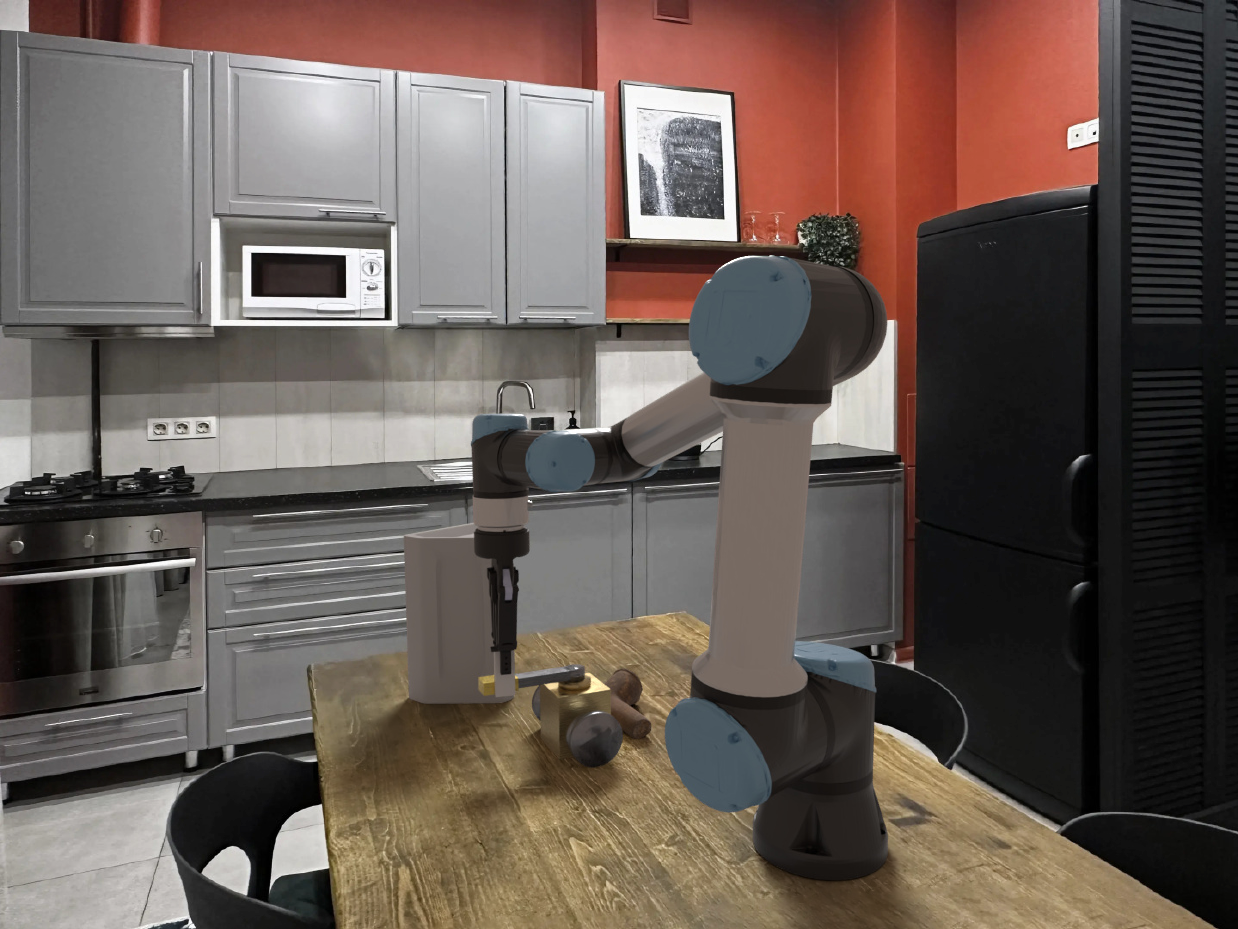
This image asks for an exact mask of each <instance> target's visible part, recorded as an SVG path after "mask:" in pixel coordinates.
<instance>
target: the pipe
mask: <svg viewBox="0 0 1238 929" xmlns="http://www.w3.org/2000/svg"><path fill="white" fill-rule="evenodd" d="M603 684H604V685H606V686H607V687H608V688H610V689H611V715H612V716H613V717H614V718H615V719H616V720H617V721H618V722H619V723H620V725H621V728H622V732H623V733H625V734H627V735H628V736H630V737H631V738H633V739H636V740H638V739H642V738H645V737H646V736H647V735H649V734H651V731H652V722H651V721H650V720H649V719H648V718H647V717H645V715H643V714H642V713H641V712H640V711H638V710H636V709H635V708H634V707H632V705H636V704H637V703H638V702H639V701H640V699H641V695H642V693H643V691H644V689H643V685H642V681H641V679H640V677H639V676H638V675H637V674H636V673H635V672H634V671H633V670H632V669H631V670H630V669H628V668H622V667H621V668H619V669H616V670H615V671H614V672H613V673H612V674H611V676H610V677H609V678H608V679H607V680H606V681H605V682H604V683H603Z"/></svg>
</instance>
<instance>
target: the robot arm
mask: <svg viewBox="0 0 1238 929" xmlns="http://www.w3.org/2000/svg"><path fill="white" fill-rule="evenodd" d="M887 314H888V313H887V309H886V304H885V302H884V300H883V298H882V296H881V293H880V292H879V291H878V289H877V288H876V287H875V285H874V284H873V283H872V282H871V281H870V280H869V279H868V278H867V277H865V276H864V275H863V274H861V273H860V272H858V271H856V270H854V269H850V268H847V267H843V266H839V265H833V264H832V265H829V264H828V265H827V264H822V263H817V262H813V261H808V260H807V261H806V260H803V259H797V258H793V257H792V258H791V257H788V256H775V255H769V256H768V255H748V256H742V257H738V258H735V259H733V260H731V261H729V262H727V263H725V264H724V265H722V266H721V267H719V268H718V269H717V270H716V271H715V272H714V274H713V275H712V277H711V278H710V279H708V280H706V281H705V282H704V284H703V286H702V287H701V289H700V291H699V293H698V294H697V296H696V298H695V300H694V303H693V306H692V308H691V313H690V316H689V323H688V341H689V347H690V352H691V354H692V356H693V357H694V358H696V359H697V362H696V364H697V366H698V368H699V369H700V370H701V371H702V372H701V373H700V374H697V375H696V376H694V377H693V378H691V379H689V380H688V381H685V383H683V384H681V385H679V386H677V387H676V388H674V389H672V390H670V391H669V392H667V393H665V394H664V395H663V396H660V397H659V398H657V399H656V400H654V401H652V402H649V404H647V405H645V406H643V407H642V408H640V409H638V410H637V411H636V412H633V413H631V414H630V415H629V416H628V417H626V418H624V419H622V420H620V421H619V422H617V423H615V424H613V425H610V426H602V427H601V426H600V427H589V428H570V429H569V428H567V429H553V430H551V429H550V430H549V429H546V430H541V429H540V430H539V429H537V430H534V429H531V430H529V425H528V419H527V417H526V415H525V414H521V413H484V414H483V413H482V414H478V415H476V416H475V417H474V418H473V419H472V426H471V427H472V428H471V431H472V432H471V441H470V447H471V462H472V463H471V468H472V469H471V470H472V472H471V473H472V490H473V494H472V523H474V524H475V525H476V526H478V528H477V529H475V531H474V552H475V555H476V556H478V557H480V558H484V559H491V566H492V567H489V568H487V578H488V580H489V596H490V602H491V623H492V633H491V636H492V638H494V640H493V644H494V646H491V647H490V649H491V652H494V682H495V696H496V697H502V696H513V695H514V696H516V691H515V674H516V666H515V664H516V661H515V660H516V659H515V656H516V654H515V652H516V651H515V650H517V649H518V648H517V647H518V641H517V638H518V637H517V635H518V633H517V632H518V630H517V629H518V597H519V592H520V588H519V585H518V583H519V580H520V579H519V575H520V572H519V569H517V568H516V565H514V560H515V559H516V558H522V557H525V556H527V555H528V554H529V553H530V546H531V545H530V529H529V528H528V527H527V526H525V525H527V524H528V523H529V521H530V519H529V518H530V517H529V511H528V509H532V508H533V507H534V505H533V504H534V502H533V501H532V500H531V501H530V500H529V492H530V490H529V489H531V488H532V489H536V490H537V489H538V490H543V491H548V492H551V493H559V492H565V493H567V492H576V491H578V490H580V489H581V488H582V487H585V486H591V485H596V484H598V485H599V484H607V483H616V482H619V483H620V482H635V481H637V480H642V479H645V478H649V477H651V476H653V475H654V474H656V473H657V472H658V471H659V469H660V467H661V466H662V464H663V462H665V461H668V460H669V459H671V458H673V457H675V456H677V455H679V454H681V453H683V452H685V451H687V450H689V449H692V448H693V447H695V446H697V445H698V444H701V443H703V442H704V441H707V440H709V439H711V438H712V437H713V438H714V437H715V436H716V435H718V434H721V433H722V439H721V440H722V442H721V452H720V453H721V454H720V466H719V467H720V468H719V469H720V470H719V472H720V473H719V485H718V497H717V498H718V500H717V502H718V503H717V512H716V513H717V516H716V529H715V544H714V545H715V546H714V559H713V560H714V561H713V571H712V572H713V573H712V586H711V589H712V590H711V604H710V605H711V607H710V615H709V616H710V618H709V619H710V620H709V632H708V634H709V635H708V647H707V649H706V650H705V651H704V652H702V653H701V654H700V655H698V656H697V657H696V658H694V660H693V662H692V664H691V679H690V692H689V697H686V698H682V699H680V701H678V703H677V704H676V705H675V706H674V707H673V708H671V710H670V712H669V713H668V715H667V717H666V720H665V724H664V741H665V747H666V751H667V755H668V758H669V761H670V764H671V766H672V768H673V770H674V772H675V773H676V774H677V775H678V776H679V779H680V781H681V783H682V785H683V786H684V787H685V788H686V789H687V791H688V792H689V793H690V794H691V795H692V797H694V798H695V799H696V800H698V801H699V802H700V803H702V804H703V805H705V806H707V807H709V808H710V809H712V810H715V811H718V812H722V813H728V814H729V813H731V814H732V813H738V812H742V811H744V810H746V809H749V808H751V807H757V806H758V807H757V808H756V811H755V812H754V815H753V819H752V843H753V846H754V848H755V849H756V851H757V853H759V855H761V857H762V858H763V859H765V860H766V861H767V862H768V863H770V864H771V865H773V866H776V867H777V868H779V869H781V870H783V871H785V872H788V873H791V874H794V875H797V876H800V877H804V878H805V877H806V878H809V879H816V880H826V881H846V880H852V879H857V878H861V877H865V876H868V875H870V874H873V873H874V872H876V871H878V870H879V869H880V868H882V867H883V865H884V864H885V862H886V861H887V858H888V854H889V851H888V850H889V834H888V833H889V832H888V830H887V825H886V823H885V819H884V816H883V813H882V810H881V806H880V803H879V799H878V797H877V794H876V790H875V787H874V753H875V752H874V750H875V747H874V746H875V741H874V740H875V717H876V716H875V714H876V713H875V710H876V693H877V687H876V686H875V685H876V683H875V682H876V681H875V667H874V663H872V661H871V659H870V658H869V657H867V656H866V655H864V654H863V653H861V652H859V651H858V650H857V651H856V650H854V649H851V648H848V647H844V646H840V645H835V644H829V643H823V642H815V641H804V640H803V641H802V640H801V641H800V640H796V637H797V625H798V614H799V602H800V600H799V599H800V591H801V590H800V589H801V576H802V567H803V563H802V562H803V555H804V553H803V552H804V541H805V530H806V529H805V528H806V516H807V506H808V505H807V504H808V493H809V482H810V468H811V458H812V457H811V456H812V448H813V447H812V444H813V435H814V434H813V433H814V423H815V422H816V420H817V419H818V418H819V417H820V416H821V415H823V413H824V414H825V412H826V411H828V409H830V408H831V407H832V403H833V402H832V399H833V390H834V389H833V388H834V387H835V386H837V385H839V384H841V383H843V382H845V381H848V380H849V379H852V378H854V377H855V376H857V375H859V374H861V373H862V372H864V371H865V370H866V369H867V368H868V367H869V366H871V365H872V363H873V362H874V361H875V359H876V358H877V357H878V355H879V354H880V352H881V350H882V348H883V345H884V342H885V340H886V336H887V330H888V315H887Z"/></svg>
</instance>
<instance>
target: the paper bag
mask: <svg viewBox="0 0 1238 929" xmlns="http://www.w3.org/2000/svg"><path fill="white" fill-rule="evenodd" d="M477 528H478V526H476V525H475V524H474V523H473V522H470V523H464V524H460V525H452V526H448V527H442V528H437V529H431V530H424V531H419V532H414V533H413V532H412V533H408V534H403V553H404V555H403V556H404V557H403V558H404V559H403V562H404V584H405V588H404V589H405V593H404V594H405V618H406V619H405V620H406V621H405V622H406V646H407V647H406V648H407V651H406V652H407V678H408V683H407V684H408V699H409V700H411V701H416V702H418V703H420V704H426V705H427V704H429V705H430V704H431V705H432V704H433V705H435V704H436V705H437V704H502V703H506V702H508V701H511V700H513V699H514V698H515V695H513V696H502V697H496V696H495V694H494V695H488V696H483V694H482V693H481V692H480V691H479V684H478V677H484V676H490V675H494V652H491V649H490V647H491V646H494V644H493V640H494V638H492V636H491V633H492V623H491V602H490V596H489V580H488V578H487V568H489V567H492V566H491V559H484V558H480V557H478V556H476V555H475V552H474V531H475V529H477Z"/></svg>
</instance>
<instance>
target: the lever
mask: <svg viewBox="0 0 1238 929" xmlns="http://www.w3.org/2000/svg"><path fill="white" fill-rule="evenodd" d="M585 670H586V667H585V666H584V665H583V664H577V663H576V664H573V663H572V664H567V665H565V666H560V667H559V666H558V667H553V668H545V669H540V670H538V669H537V670H533V671H525V672H520V673H515V692H517V691H519V689H523V688H530V687H538V686H539V685H544V684H550V683H557V682H563V681H570V682H578V681H582V680H584V679H585V673H586V671H585ZM478 684H479V691H480V692H481V693H482V694H483V696H488V695H494V694H495V682H494V675H490V676H484V677H478Z"/></svg>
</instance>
